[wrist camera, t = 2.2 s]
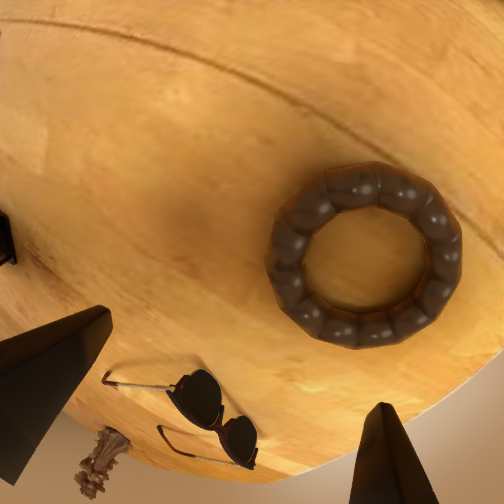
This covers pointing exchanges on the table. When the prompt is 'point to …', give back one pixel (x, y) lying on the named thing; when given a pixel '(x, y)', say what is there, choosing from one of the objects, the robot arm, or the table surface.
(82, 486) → the figurine
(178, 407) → the sunglasses
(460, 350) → the table surface
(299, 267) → the ring
